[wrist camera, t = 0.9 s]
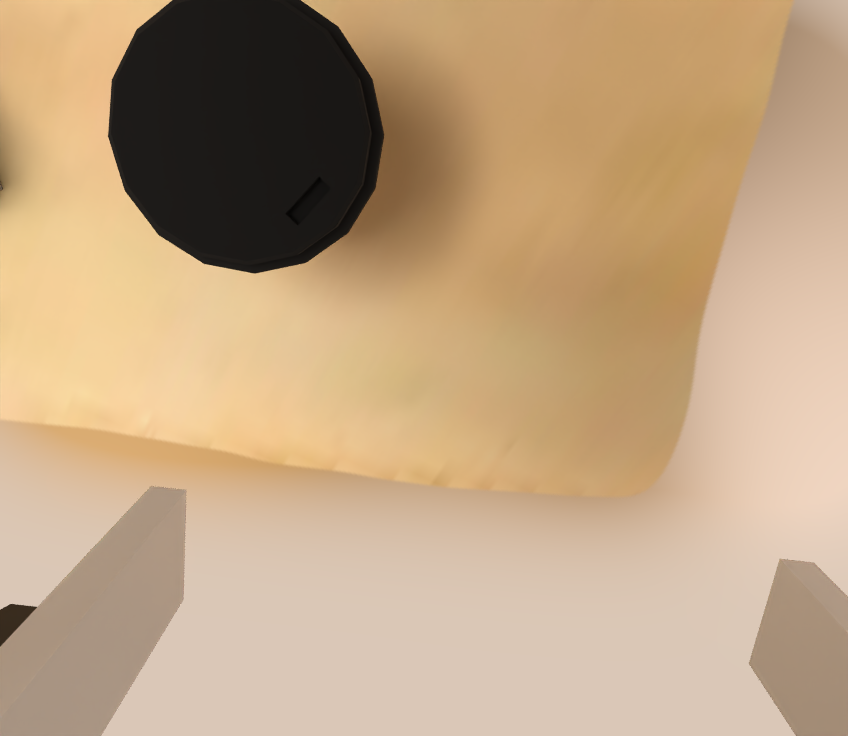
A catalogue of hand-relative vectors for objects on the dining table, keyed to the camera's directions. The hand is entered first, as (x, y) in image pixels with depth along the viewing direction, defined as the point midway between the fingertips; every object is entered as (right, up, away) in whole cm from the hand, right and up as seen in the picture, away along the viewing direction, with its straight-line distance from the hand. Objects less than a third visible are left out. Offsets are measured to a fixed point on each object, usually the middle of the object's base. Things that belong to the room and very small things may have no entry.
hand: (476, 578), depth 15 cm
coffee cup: (-8, +17, +23) cm, 29 cm away
